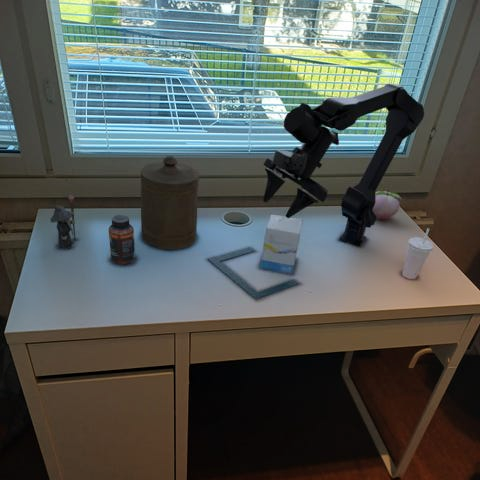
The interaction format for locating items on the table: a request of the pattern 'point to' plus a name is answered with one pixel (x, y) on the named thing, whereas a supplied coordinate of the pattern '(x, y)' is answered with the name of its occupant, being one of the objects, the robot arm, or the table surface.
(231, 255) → the frame
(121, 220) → the supplement bottle
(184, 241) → the wooden container
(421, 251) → the smoothie
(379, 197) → the decorative fruit
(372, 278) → the table surface
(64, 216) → the wizard figurine
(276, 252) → the ink box
